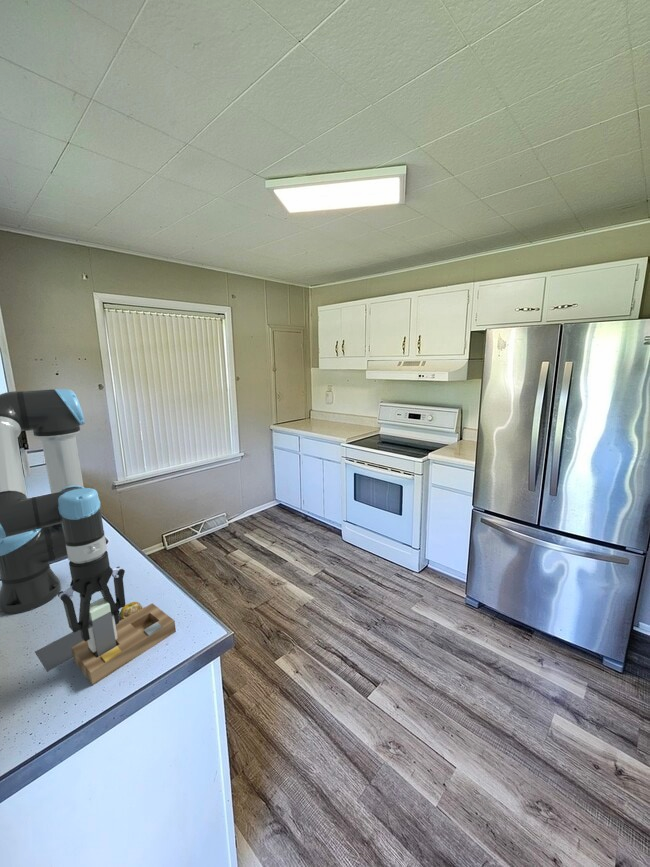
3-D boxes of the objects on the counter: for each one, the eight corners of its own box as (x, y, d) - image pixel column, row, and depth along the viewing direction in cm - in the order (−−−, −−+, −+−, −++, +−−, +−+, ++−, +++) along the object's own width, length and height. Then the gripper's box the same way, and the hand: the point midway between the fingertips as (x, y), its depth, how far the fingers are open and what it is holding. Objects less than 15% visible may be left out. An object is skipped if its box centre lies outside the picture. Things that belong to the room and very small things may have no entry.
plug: (92, 650, 86) (84, 606, 84) (109, 639, 89) (102, 597, 87) (98, 657, 84) (90, 613, 81) (116, 647, 87) (109, 603, 84)
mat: (35, 653, 89) (34, 651, 89) (80, 629, 97) (80, 628, 97) (47, 673, 83) (47, 671, 83) (94, 646, 91) (94, 644, 91)
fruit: (124, 633, 96) (122, 621, 95) (112, 619, 101) (110, 608, 101) (154, 616, 102) (153, 604, 102) (141, 604, 108) (140, 593, 107)
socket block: (73, 661, 87) (71, 646, 86) (153, 615, 102) (152, 602, 101) (93, 687, 80) (90, 671, 79) (176, 633, 95) (174, 619, 94)
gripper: (48, 579, 73) (67, 675, 77) (133, 544, 86) (145, 628, 90) (37, 567, 77) (56, 658, 82) (120, 536, 90) (132, 616, 95)
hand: (103, 642), depth 86 cm, fingers closed on plug, 4 cm apart
